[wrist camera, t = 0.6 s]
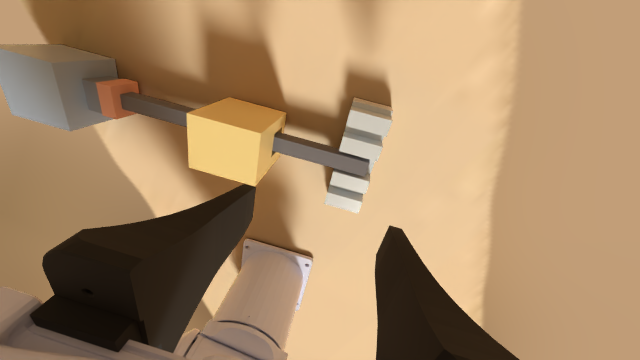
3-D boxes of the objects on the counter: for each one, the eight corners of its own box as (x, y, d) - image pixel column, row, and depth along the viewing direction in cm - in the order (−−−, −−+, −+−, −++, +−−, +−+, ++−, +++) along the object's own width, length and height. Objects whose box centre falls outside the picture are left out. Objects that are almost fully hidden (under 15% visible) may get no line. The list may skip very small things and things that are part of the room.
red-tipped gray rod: (372, 146, 21) (372, 158, 18) (362, 173, 22) (361, 188, 20) (110, 74, 22) (79, 78, 20) (115, 104, 23) (87, 111, 21)
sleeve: (279, 156, 23) (255, 186, 18) (227, 141, 23) (188, 167, 18) (286, 112, 21) (260, 133, 16) (229, 97, 21) (186, 113, 16)
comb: (358, 201, 24) (356, 217, 22) (327, 192, 24) (323, 207, 22) (391, 107, 20) (394, 115, 17) (354, 97, 20) (351, 103, 18)
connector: (139, 120, 24) (89, 136, 20) (75, 102, 24) (12, 114, 20) (132, 63, 22) (72, 68, 17) (61, 44, 22) (-15, 44, 18)
